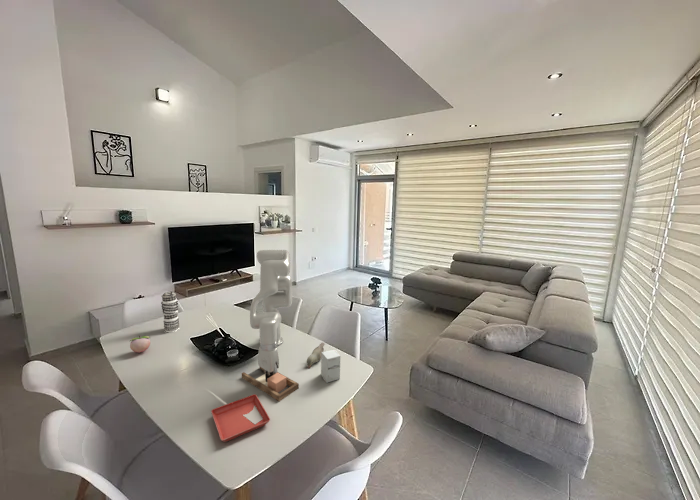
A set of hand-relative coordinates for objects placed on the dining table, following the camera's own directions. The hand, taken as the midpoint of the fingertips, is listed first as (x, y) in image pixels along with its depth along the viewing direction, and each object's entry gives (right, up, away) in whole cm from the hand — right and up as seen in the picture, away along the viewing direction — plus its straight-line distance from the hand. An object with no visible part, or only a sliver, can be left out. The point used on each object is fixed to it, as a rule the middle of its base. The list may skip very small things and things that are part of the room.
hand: (269, 380), depth 139 cm
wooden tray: (-1, -2, +1) cm, 2 cm away
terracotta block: (+4, -2, -3) cm, 6 cm away
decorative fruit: (-78, +5, +25) cm, 81 cm away
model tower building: (-78, +10, +53) cm, 94 cm away
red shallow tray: (-5, -6, -23) cm, 24 cm away
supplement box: (+28, -1, +7) cm, 29 cm away
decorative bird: (+20, +1, +21) cm, 29 cm away
